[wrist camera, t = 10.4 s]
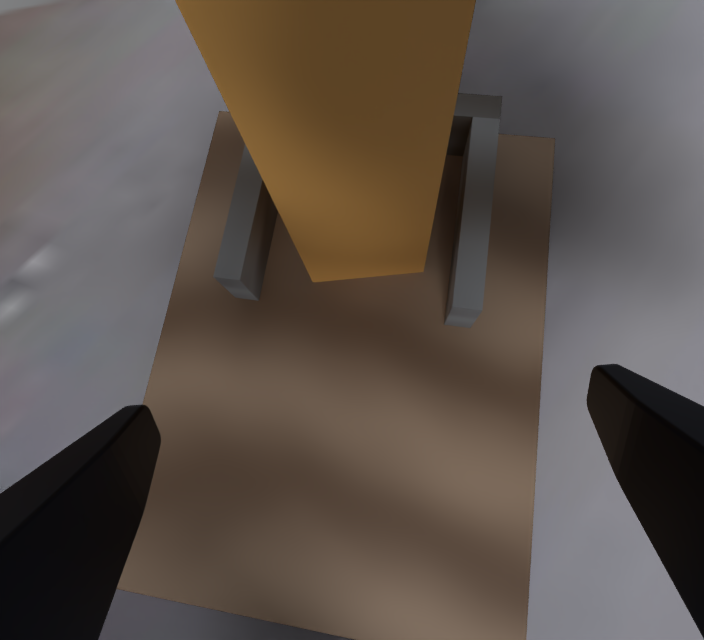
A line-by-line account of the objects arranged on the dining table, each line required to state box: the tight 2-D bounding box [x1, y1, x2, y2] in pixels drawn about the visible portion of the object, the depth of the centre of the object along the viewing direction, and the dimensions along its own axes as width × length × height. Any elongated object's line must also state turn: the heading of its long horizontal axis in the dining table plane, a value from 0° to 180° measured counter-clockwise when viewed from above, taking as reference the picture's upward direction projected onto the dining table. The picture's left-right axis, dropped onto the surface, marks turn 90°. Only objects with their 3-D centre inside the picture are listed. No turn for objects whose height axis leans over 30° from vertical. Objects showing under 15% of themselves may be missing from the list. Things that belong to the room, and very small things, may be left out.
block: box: [175, 0, 476, 282], centre depth 13 cm, size 4×4×13 cm
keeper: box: [117, 93, 555, 640], centre depth 18 cm, size 20×15×4 cm
